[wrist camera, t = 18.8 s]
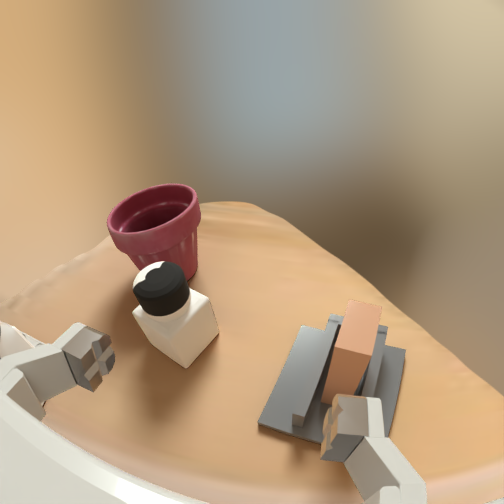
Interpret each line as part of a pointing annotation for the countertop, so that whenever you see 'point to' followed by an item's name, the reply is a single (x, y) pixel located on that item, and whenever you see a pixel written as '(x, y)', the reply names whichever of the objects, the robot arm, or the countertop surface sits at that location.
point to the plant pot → (158, 226)
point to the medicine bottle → (173, 313)
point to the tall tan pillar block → (352, 349)
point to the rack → (314, 378)
